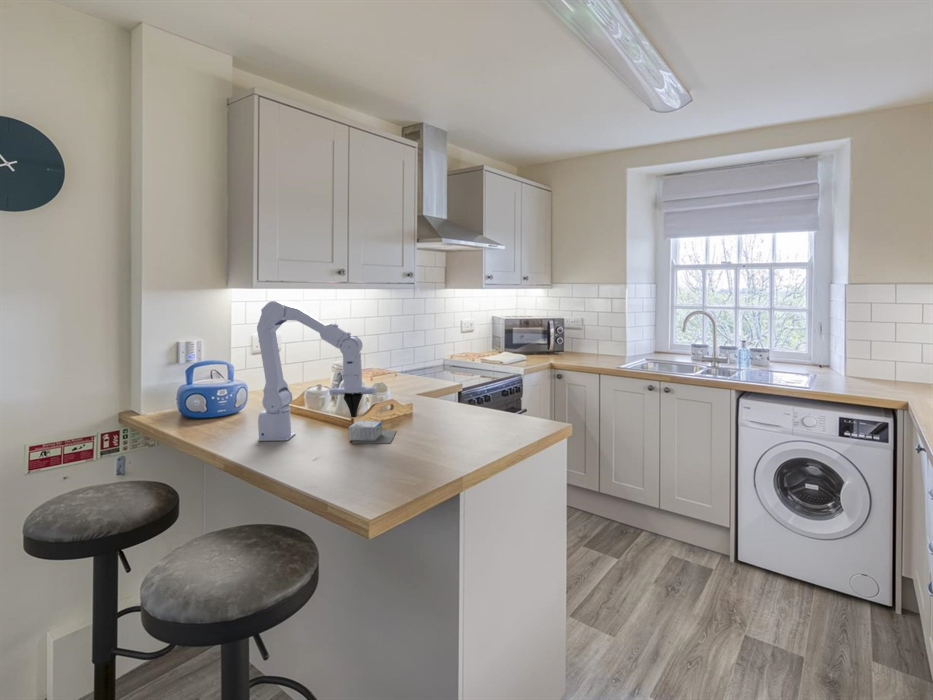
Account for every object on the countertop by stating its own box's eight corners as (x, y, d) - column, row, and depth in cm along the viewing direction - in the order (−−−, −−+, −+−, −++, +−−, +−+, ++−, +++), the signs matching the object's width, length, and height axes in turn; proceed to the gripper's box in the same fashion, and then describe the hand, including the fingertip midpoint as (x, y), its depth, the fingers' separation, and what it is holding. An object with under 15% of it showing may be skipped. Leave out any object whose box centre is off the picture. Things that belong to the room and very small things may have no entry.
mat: (351, 444, 158) (351, 443, 158) (360, 431, 172) (360, 431, 172) (390, 443, 158) (390, 442, 158) (396, 431, 172) (396, 430, 172)
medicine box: (348, 440, 161) (375, 441, 160) (347, 426, 160) (374, 427, 159) (357, 433, 169) (382, 434, 167) (356, 420, 168) (382, 421, 167)
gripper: (326, 377, 159) (328, 419, 160) (373, 376, 159) (374, 419, 160) (332, 373, 166) (333, 414, 167) (377, 373, 166) (378, 414, 167)
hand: (354, 416), depth 164 cm, fingers closed
